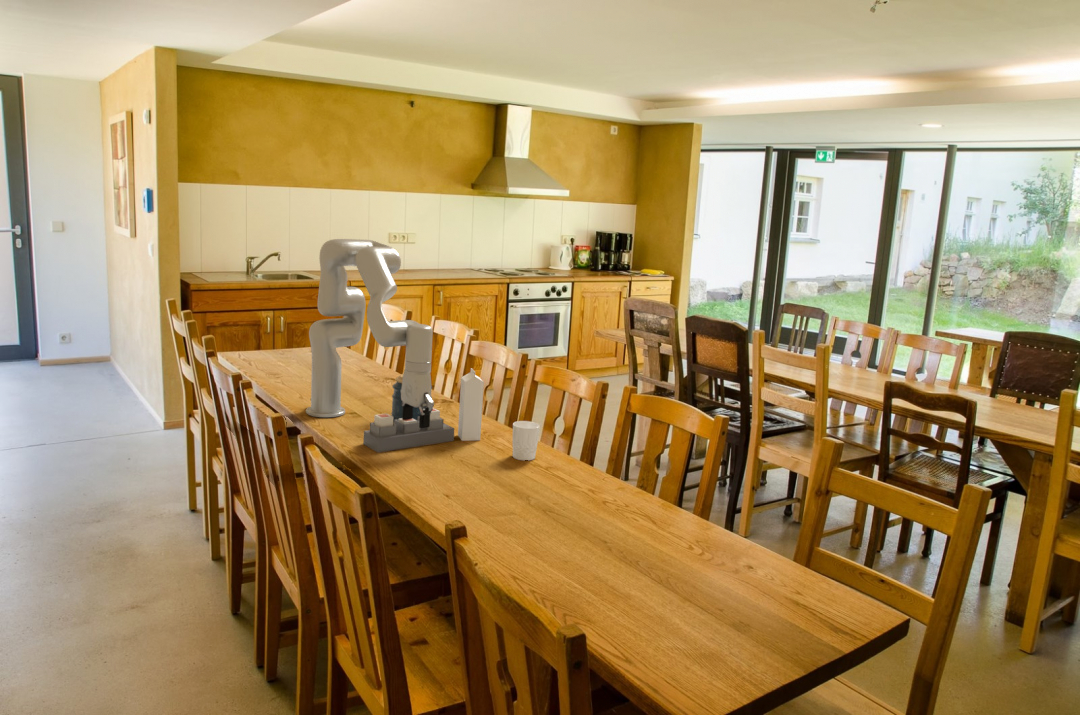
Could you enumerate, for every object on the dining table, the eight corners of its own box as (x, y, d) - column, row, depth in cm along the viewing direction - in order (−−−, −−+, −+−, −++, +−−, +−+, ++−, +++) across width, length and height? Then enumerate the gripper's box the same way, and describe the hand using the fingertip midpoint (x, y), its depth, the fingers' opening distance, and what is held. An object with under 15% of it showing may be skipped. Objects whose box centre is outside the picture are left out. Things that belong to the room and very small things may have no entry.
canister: (403, 428, 245) (405, 374, 242) (383, 418, 255) (385, 366, 252) (437, 423, 254) (440, 371, 250) (417, 414, 263) (420, 363, 260)
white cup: (540, 455, 229) (542, 423, 227) (532, 463, 221) (535, 429, 219) (515, 451, 231) (517, 419, 229) (507, 458, 223) (509, 425, 221)
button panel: (363, 443, 227) (364, 421, 226) (438, 432, 243) (439, 412, 242) (377, 452, 220) (378, 429, 219) (453, 440, 237) (454, 419, 235)
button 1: (374, 424, 225) (374, 414, 224) (386, 423, 228) (386, 413, 227) (380, 428, 222) (381, 417, 221) (392, 426, 225) (393, 416, 224)
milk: (476, 435, 244) (480, 367, 240) (480, 440, 239) (485, 371, 235) (457, 435, 243) (461, 367, 239) (461, 440, 237) (465, 371, 233)
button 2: (398, 428, 230) (398, 418, 230) (409, 426, 233) (410, 416, 232) (404, 431, 227) (405, 421, 227) (416, 430, 230) (416, 420, 229)
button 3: (421, 418, 235) (421, 408, 235) (432, 417, 238) (433, 407, 237) (428, 422, 232) (428, 411, 232) (439, 420, 235) (439, 410, 234)
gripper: (392, 361, 227) (390, 417, 230) (422, 373, 214) (419, 432, 217) (414, 360, 232) (412, 414, 235) (445, 371, 219) (442, 429, 222)
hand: (415, 423), depth 226 cm, fingers open, 9 cm apart
